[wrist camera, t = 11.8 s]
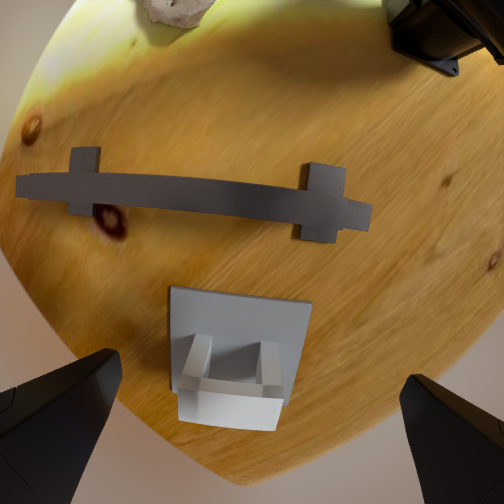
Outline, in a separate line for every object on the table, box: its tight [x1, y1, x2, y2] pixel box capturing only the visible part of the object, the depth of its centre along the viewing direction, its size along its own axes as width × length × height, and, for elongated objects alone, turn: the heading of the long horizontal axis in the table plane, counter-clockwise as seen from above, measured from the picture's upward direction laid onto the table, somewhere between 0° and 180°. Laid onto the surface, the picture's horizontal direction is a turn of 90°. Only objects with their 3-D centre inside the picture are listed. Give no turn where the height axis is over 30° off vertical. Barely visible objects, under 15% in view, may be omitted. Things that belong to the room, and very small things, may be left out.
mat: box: [170, 286, 313, 406], centre depth 21 cm, size 10×10×1 cm
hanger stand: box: [16, 147, 373, 244], centre depth 15 cm, size 19×5×7 cm, turn 83°
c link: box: [177, 334, 284, 431], centre depth 18 cm, size 3×6×6 cm, turn 83°
